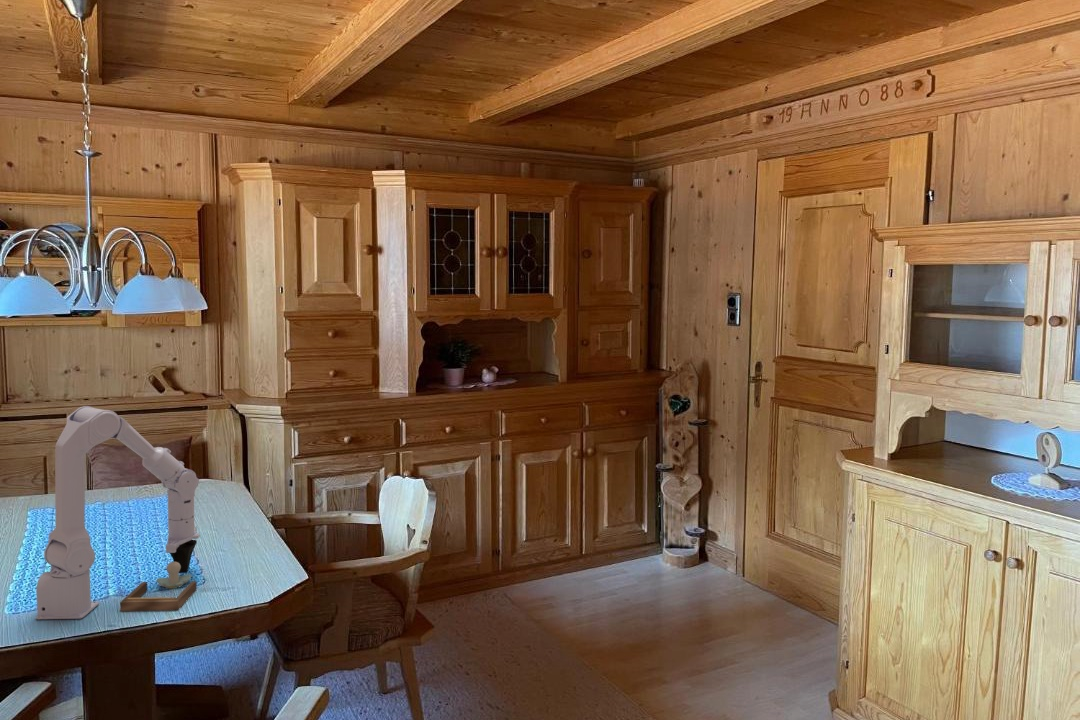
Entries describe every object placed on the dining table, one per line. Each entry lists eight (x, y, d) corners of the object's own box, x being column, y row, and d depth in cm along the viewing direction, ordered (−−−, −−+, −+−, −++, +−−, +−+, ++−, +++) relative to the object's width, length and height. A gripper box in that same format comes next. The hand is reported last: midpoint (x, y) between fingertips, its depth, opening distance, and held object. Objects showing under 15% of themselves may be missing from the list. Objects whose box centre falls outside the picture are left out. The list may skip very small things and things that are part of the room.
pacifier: (156, 584, 185) (156, 592, 180) (155, 558, 185) (156, 565, 180) (190, 579, 189) (191, 587, 183) (189, 554, 188) (191, 561, 183)
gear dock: (120, 611, 169) (120, 600, 169) (142, 590, 181) (142, 580, 181) (178, 610, 170) (177, 599, 170) (196, 589, 182) (196, 580, 182)
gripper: (187, 526, 181) (189, 583, 183) (208, 508, 196) (209, 561, 197) (155, 526, 181) (157, 583, 182) (179, 508, 195) (180, 561, 196)
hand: (182, 572), depth 189 cm, fingers closed
